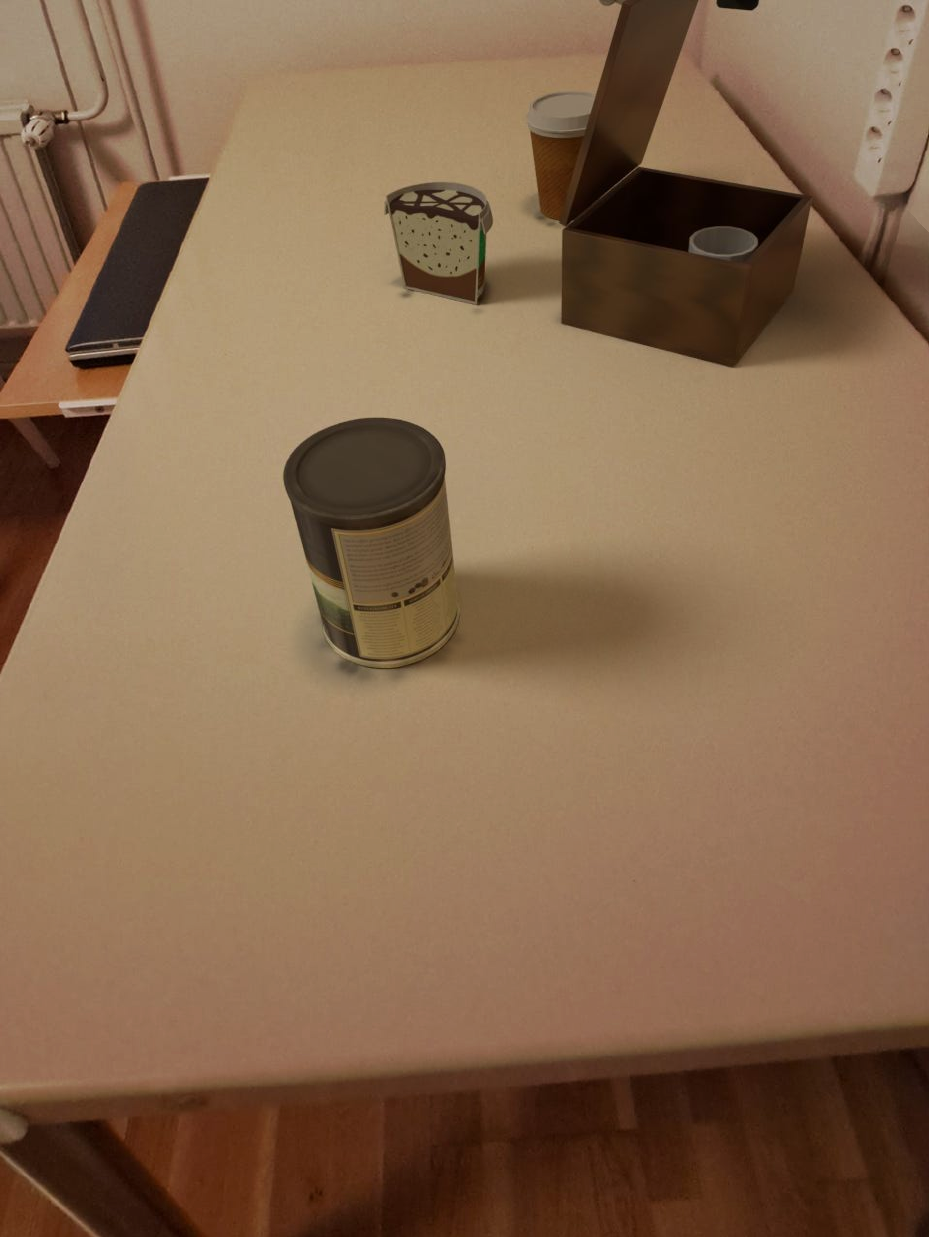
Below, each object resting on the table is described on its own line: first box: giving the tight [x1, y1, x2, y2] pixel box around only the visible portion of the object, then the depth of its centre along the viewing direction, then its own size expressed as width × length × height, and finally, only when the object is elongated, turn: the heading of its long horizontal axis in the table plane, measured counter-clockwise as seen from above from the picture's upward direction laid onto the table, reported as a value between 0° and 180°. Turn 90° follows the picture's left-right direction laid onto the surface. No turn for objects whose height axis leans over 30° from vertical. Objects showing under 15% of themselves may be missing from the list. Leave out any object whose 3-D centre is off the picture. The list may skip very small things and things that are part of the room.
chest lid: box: [558, 0, 699, 228], centre depth 86 cm, size 19×17×5 cm
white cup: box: [688, 226, 758, 264], centre depth 93 cm, size 6×6×7 cm
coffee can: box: [282, 416, 460, 669], centre depth 64 cm, size 10×10×14 cm
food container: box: [383, 181, 494, 306], centre depth 100 cm, size 12×6×10 cm, turn 59°
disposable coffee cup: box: [525, 90, 596, 221], centre depth 111 cm, size 10×10×12 cm
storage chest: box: [560, 166, 813, 368], centre depth 94 cm, size 19×17×10 cm
